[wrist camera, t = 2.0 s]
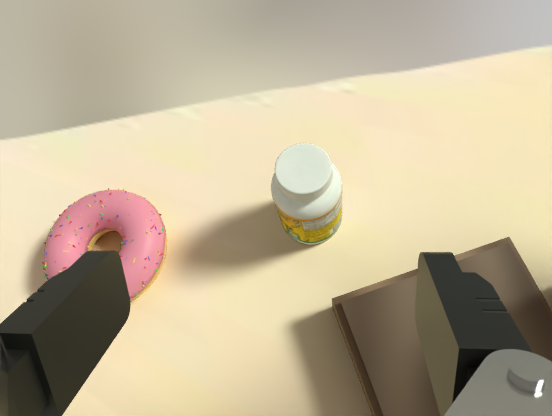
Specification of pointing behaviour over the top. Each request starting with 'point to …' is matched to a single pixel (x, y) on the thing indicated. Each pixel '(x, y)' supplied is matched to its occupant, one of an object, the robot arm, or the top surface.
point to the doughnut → (101, 219)
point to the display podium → (404, 337)
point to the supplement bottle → (307, 193)
